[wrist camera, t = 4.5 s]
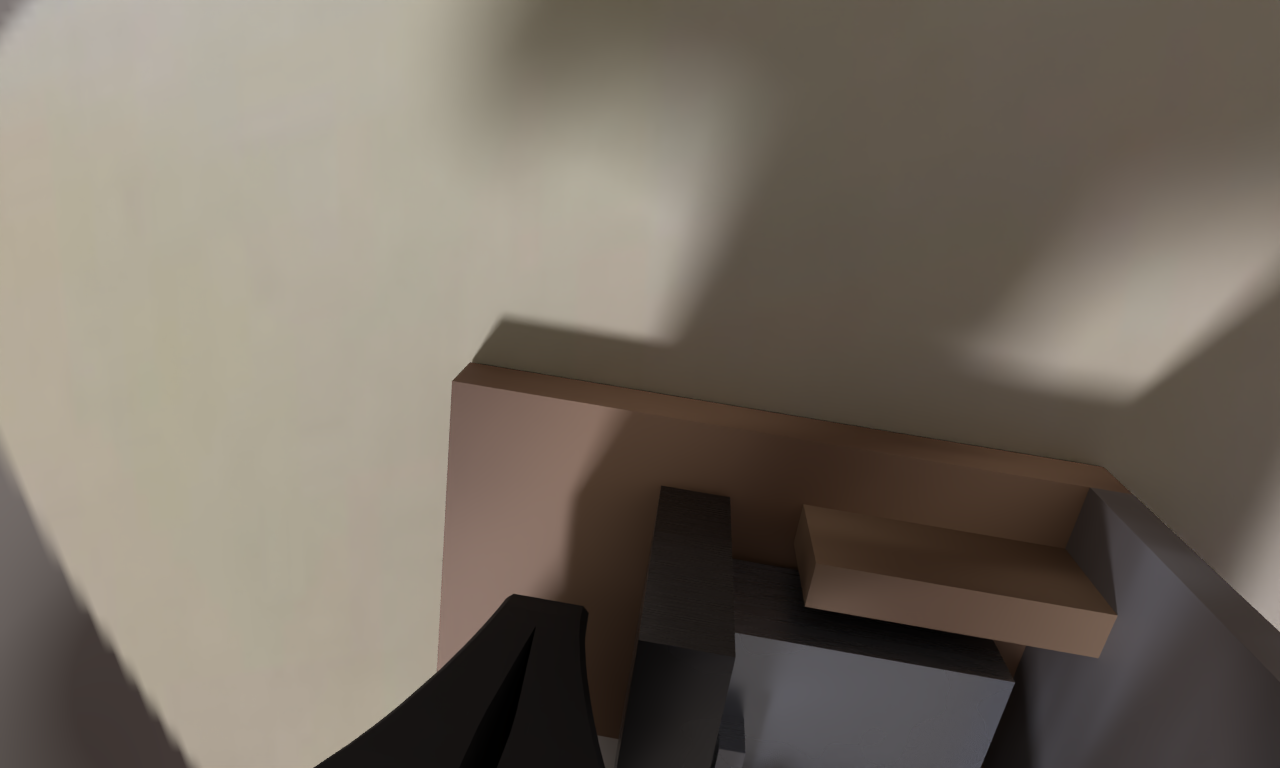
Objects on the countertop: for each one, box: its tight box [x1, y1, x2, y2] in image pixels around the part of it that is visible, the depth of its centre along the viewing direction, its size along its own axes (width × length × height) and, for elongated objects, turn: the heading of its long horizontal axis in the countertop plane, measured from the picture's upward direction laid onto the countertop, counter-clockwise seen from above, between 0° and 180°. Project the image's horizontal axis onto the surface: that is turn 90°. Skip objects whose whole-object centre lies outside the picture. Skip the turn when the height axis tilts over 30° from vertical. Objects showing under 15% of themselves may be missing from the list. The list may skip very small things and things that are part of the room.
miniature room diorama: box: [437, 362, 1280, 768], centre depth 12 cm, size 12×8×6 cm
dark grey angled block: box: [614, 486, 1015, 768], centre depth 12 cm, size 6×6×4 cm
